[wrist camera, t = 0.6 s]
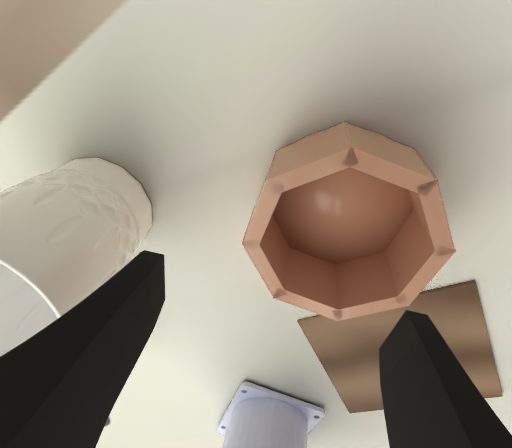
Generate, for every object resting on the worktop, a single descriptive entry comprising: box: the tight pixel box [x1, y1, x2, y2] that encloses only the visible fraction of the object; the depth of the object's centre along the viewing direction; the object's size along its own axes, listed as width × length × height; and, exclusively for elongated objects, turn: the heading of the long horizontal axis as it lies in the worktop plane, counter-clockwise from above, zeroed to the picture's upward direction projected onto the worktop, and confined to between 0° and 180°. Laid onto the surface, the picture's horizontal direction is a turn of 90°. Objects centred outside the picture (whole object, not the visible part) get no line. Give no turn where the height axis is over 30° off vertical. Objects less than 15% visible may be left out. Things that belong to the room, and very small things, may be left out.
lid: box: [298, 280, 503, 413], centre depth 24 cm, size 12×12×5 cm
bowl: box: [242, 122, 456, 321], centre depth 18 cm, size 9×9×4 cm
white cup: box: [0, 158, 152, 356], centre depth 18 cm, size 8×8×10 cm
